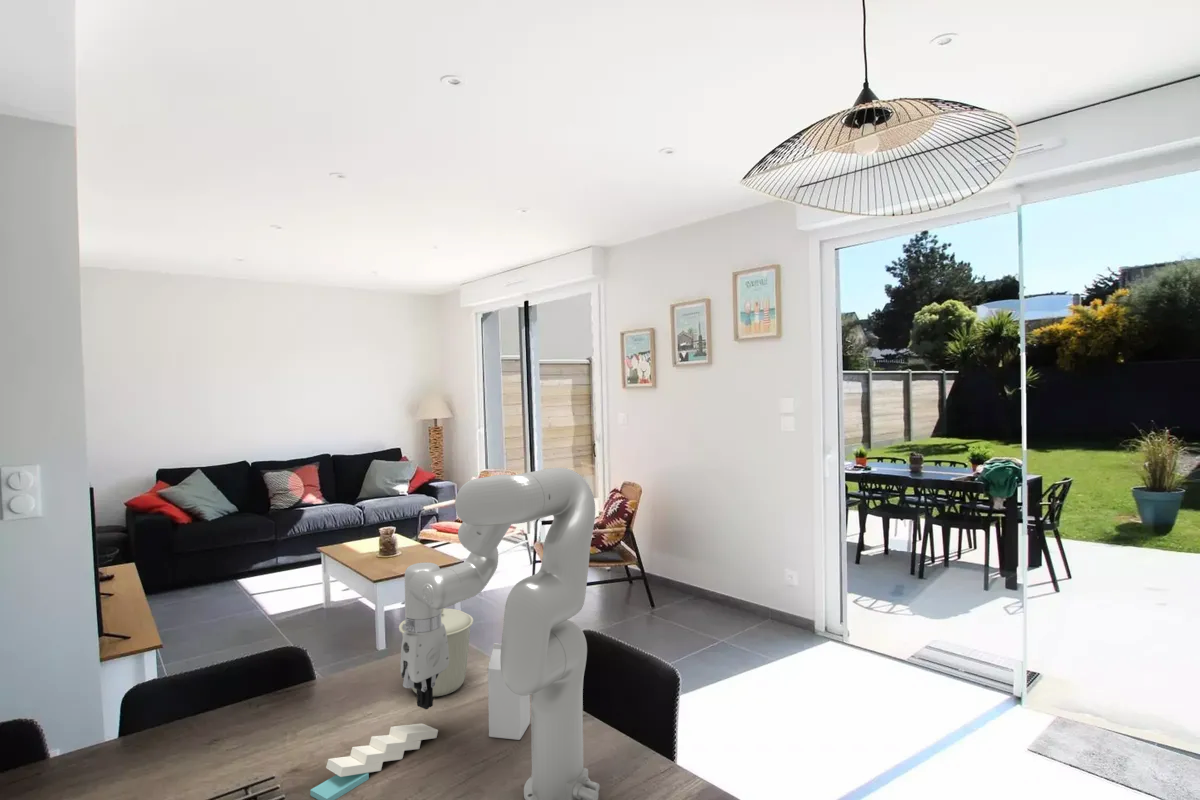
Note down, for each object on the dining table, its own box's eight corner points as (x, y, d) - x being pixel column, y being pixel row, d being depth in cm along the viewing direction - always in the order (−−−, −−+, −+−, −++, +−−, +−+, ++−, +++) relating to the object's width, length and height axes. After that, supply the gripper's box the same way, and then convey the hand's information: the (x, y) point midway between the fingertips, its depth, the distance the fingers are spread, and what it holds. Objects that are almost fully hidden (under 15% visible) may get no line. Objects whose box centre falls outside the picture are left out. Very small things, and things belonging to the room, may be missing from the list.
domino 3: (404, 750, 132) (367, 755, 125) (402, 759, 131) (364, 764, 125) (389, 743, 135) (352, 747, 128) (387, 751, 134) (350, 755, 127)
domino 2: (368, 773, 125) (326, 798, 117) (368, 781, 125) (327, 807, 117) (352, 765, 127) (310, 789, 120) (352, 773, 128) (310, 798, 120)
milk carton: (520, 740, 138) (519, 652, 137) (488, 737, 139) (487, 650, 139) (530, 723, 145) (529, 639, 144) (500, 720, 146) (499, 637, 146)
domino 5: (438, 729, 140) (407, 733, 132) (436, 737, 139) (405, 742, 132) (422, 723, 142) (390, 726, 135) (420, 731, 142) (388, 734, 135)
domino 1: (382, 761, 128) (342, 767, 121) (380, 770, 127) (340, 776, 121) (368, 753, 131) (328, 758, 124) (366, 762, 130) (326, 768, 124)
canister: (489, 681, 166) (487, 600, 165) (436, 712, 150) (435, 622, 150) (438, 666, 175) (437, 589, 175) (384, 693, 160) (382, 608, 159)
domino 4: (421, 740, 135) (387, 743, 128) (419, 748, 135) (384, 752, 128) (405, 733, 138) (371, 736, 131) (403, 741, 138) (369, 745, 131)
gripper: (407, 637, 131) (409, 726, 131) (461, 614, 144) (462, 696, 144) (383, 629, 135) (385, 716, 136) (437, 608, 148) (438, 688, 148)
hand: (424, 706), depth 140 cm, fingers closed
